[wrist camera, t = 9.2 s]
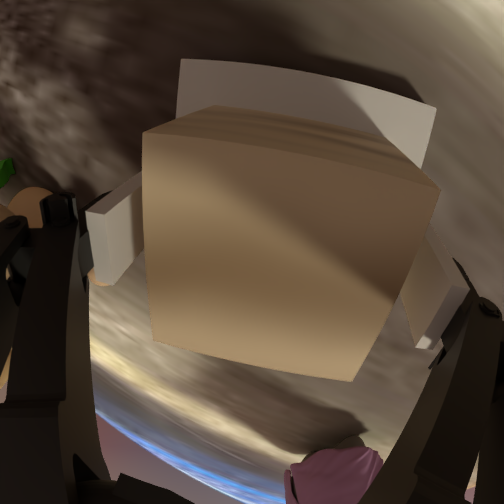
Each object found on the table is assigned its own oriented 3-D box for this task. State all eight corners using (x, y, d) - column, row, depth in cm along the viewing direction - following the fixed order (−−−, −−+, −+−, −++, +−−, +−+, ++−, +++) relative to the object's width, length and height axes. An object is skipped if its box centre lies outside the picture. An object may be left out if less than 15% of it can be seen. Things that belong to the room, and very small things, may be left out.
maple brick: (214, 104, 14) (142, 132, 8) (385, 137, 13) (441, 189, 7) (202, 250, 18) (153, 340, 12) (343, 278, 17) (351, 381, 11)
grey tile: (191, 59, 14) (180, 58, 13) (426, 104, 13) (436, 108, 12) (180, 256, 20) (171, 269, 19) (365, 294, 19) (367, 310, 18)
